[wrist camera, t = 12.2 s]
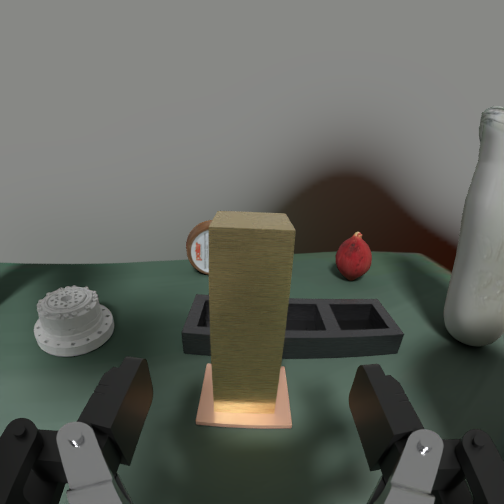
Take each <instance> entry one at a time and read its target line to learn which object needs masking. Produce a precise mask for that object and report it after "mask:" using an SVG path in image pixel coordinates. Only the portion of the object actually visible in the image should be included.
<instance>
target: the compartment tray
mask: <svg viewBox="0 0 504 504" xmlns="http://www.w3.org/2000/svg"><path fill="white" fill-rule="evenodd" d="M403 335H404V334H403V332H402V331H401V329H400V328H399V327H398V325H397V324H396V323H395V321H394V320H393V319H392V317H391V316H390V315H389V313H388V312H387V311H386V310H385V308H384V307H383V306H382V304H381V303H380V302H379V300H378V299H292V298H289V303H288V312H287V321H286V329H285V338H284V346H283V354H282V359H303V358H340V357H359V356H373V355H385V354H396V353H398V350H399V347H400V344H401V341H402V338H403ZM182 341H183V351H184V353H185V354H196V355H209V356H211V341H210V311H209V295H198V294H196V297H195V299H194V302H193V304H192V307H191V309H190V312H189V315H188V317H187V320H186V322H185V325H184V328H183V330H182Z"/></svg>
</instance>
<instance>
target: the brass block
mask: <svg viewBox="0 0 504 504" xmlns="http://www.w3.org/2000/svg"><path fill="white" fill-rule="evenodd" d="M294 242H295V229H294V227H293V225H292V224H291V222H290V220H289V219H288V217H287V216H286V214H280V213H259V212H233V211H218V212H217V213H216V215H215V217H214V218H213V220H212V222H211V224H210V225H209V311H210V341H211V365H212V384H213V401H214V412H226V413H254V414H274V411H275V404H276V398H277V391H278V384H279V376H280V369H281V361H282V354H283V346H284V338H285V329H286V321H287V312H288V303H289V294H290V284H291V274H292V264H293V253H294Z"/></svg>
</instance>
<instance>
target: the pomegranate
mask: <svg viewBox="0 0 504 504" xmlns="http://www.w3.org/2000/svg"><path fill="white" fill-rule="evenodd" d="M361 236H362V234H361V233H360V232H356V233H355V234H354V235H353V237H351V238H350V239H348V240H346V241H345V242H344V243H342V244H341V246H340V247H339V249H338V251H337V254H336V265H337V268H338V270H339V271H340V273H341V274H342V275H343V276H344V277H345V278H347V279H348V280H350V281H353V280H355V279H356V278H358V277H360V276H362V275H363V274H365V273H366V272H367V271H368V270H369V268H370V265H371V260H372V255H371V251H370V248H369V246H368V245H367V244H366V243H365V241H363V240H362V238H361Z"/></svg>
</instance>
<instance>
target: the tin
mask: <svg viewBox="0 0 504 504" xmlns="http://www.w3.org/2000/svg"><path fill="white" fill-rule="evenodd" d="M211 222H212V220H209V221H205V222H202V223H200V224H198V225H197V226H196V227H194V228H193V230H192V231H191V232H190V234H189V236H188V238H187V242H186V249H187V256H188V259H189V261H190V263H191V264H192V266H193V267H194V268H195V269H196V270H198V271H199V272H201V273H204V274H207V275H209V225H210V224H211Z"/></svg>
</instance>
